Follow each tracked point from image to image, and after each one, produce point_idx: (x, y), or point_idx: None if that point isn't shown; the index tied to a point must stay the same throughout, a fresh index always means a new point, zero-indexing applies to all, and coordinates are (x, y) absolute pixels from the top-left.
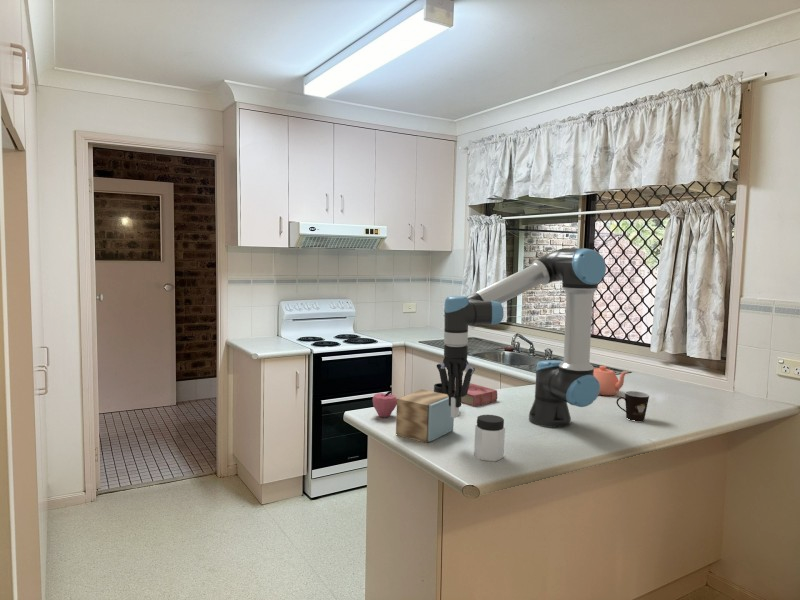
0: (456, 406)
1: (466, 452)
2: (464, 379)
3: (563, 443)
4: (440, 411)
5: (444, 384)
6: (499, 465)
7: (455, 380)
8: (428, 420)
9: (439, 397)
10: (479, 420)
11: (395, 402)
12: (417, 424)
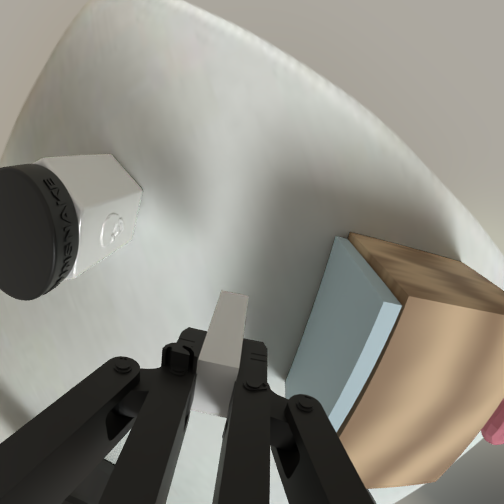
0: (204, 334)
1: (174, 201)
2: (23, 468)
3: (20, 372)
4: (330, 363)
5: (318, 463)
6: (59, 146)
7: (157, 497)
8: (370, 267)
9: (357, 450)
10: (33, 180)
11: (490, 419)
12: (413, 262)
